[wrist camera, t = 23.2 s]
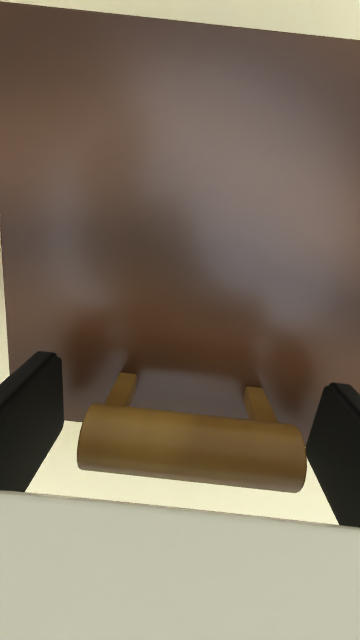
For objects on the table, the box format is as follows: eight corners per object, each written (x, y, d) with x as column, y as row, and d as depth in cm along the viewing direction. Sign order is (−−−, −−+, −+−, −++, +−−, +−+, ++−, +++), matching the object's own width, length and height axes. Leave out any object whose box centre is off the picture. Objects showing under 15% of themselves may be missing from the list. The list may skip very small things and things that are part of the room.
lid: (347, 439, 13) (440, 561, 8) (22, 404, 13) (-77, 505, 8) (463, 68, 9) (771, -119, 4) (1, 18, 9) (-209, -225, 4)
